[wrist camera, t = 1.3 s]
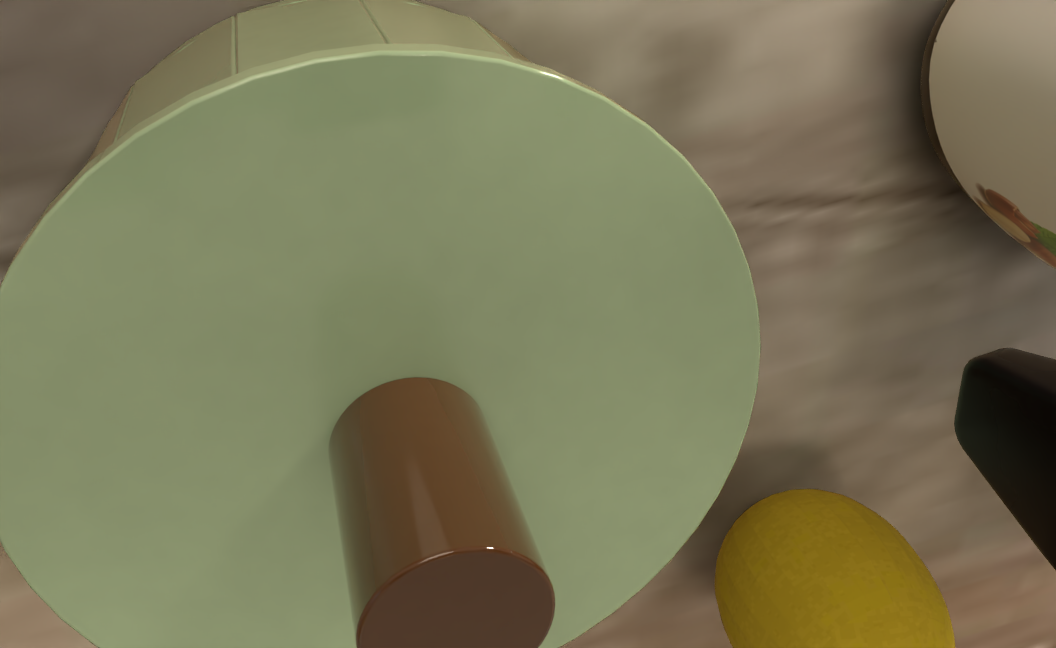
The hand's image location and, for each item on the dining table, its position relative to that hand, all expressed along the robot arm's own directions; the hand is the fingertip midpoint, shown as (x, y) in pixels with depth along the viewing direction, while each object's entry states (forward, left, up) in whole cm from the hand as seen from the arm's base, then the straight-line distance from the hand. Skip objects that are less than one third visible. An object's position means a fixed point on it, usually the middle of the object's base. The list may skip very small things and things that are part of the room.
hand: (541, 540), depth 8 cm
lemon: (-17, +4, -14) cm, 22 cm away
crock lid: (-2, +3, -7) cm, 8 cm away
